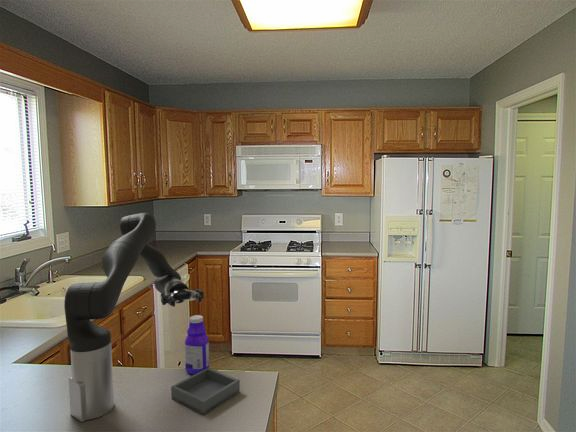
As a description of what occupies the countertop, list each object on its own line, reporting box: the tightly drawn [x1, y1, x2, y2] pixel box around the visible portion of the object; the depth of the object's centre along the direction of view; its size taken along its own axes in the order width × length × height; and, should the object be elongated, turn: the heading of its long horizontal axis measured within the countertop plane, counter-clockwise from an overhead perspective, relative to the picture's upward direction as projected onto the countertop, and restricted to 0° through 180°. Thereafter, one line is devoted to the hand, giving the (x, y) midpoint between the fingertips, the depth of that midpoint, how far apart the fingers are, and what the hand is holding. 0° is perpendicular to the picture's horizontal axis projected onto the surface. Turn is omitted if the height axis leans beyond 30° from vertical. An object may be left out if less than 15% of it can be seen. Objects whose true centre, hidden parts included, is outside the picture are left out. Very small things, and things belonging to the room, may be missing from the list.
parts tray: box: [170, 367, 241, 416], centre depth 101 cm, size 13×13×4 cm
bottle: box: [184, 314, 210, 375], centre depth 115 cm, size 7×6×17 cm
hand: (187, 301), depth 124 cm, fingers open, 8 cm apart
